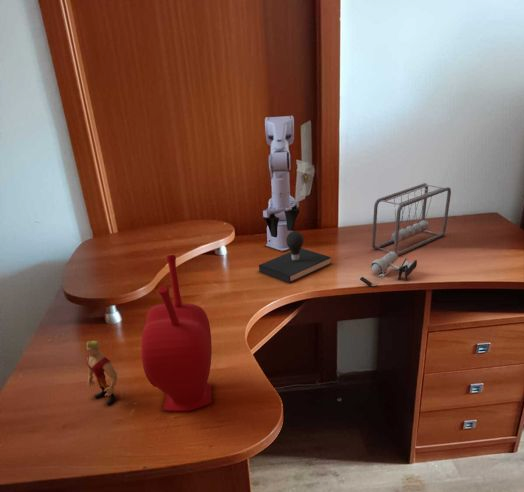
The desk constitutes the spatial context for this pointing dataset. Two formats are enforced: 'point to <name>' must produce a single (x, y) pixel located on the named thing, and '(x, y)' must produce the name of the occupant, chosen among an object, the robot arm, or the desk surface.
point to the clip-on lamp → (382, 264)
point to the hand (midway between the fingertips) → (282, 233)
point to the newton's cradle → (410, 229)
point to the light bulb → (295, 244)
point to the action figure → (100, 370)
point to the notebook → (294, 265)
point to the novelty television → (178, 349)
